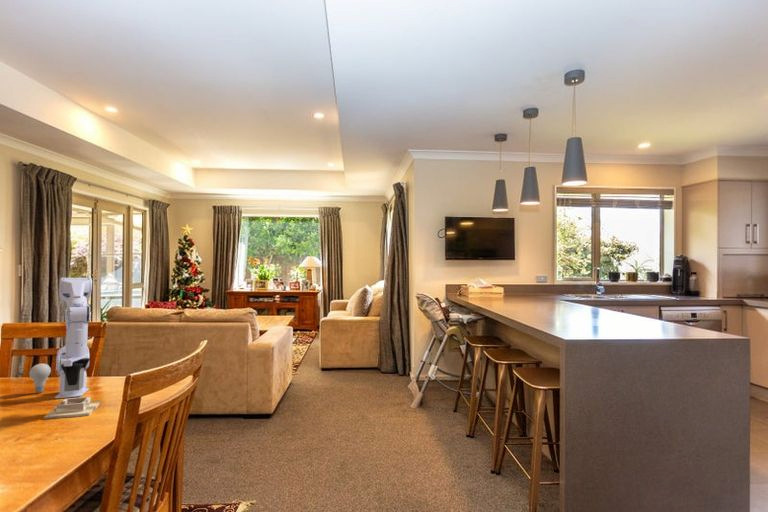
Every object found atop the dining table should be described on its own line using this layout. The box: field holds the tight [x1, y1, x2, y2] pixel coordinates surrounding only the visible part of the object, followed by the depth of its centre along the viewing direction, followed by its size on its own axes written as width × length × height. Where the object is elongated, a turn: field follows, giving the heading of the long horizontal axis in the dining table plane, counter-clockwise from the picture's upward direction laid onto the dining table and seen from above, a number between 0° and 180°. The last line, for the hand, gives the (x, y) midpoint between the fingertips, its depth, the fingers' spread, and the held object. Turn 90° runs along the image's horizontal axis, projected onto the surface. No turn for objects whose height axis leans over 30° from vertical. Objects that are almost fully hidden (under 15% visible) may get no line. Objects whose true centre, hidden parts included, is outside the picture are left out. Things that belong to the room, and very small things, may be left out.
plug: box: [64, 368, 84, 391], centre depth 133 cm, size 4×4×6 cm
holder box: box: [43, 396, 102, 421], centre depth 133 cm, size 12×12×3 cm
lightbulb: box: [29, 363, 52, 394], centre depth 151 cm, size 6×6×11 cm
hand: (75, 383), depth 133 cm, fingers closed on plug, 4 cm apart
